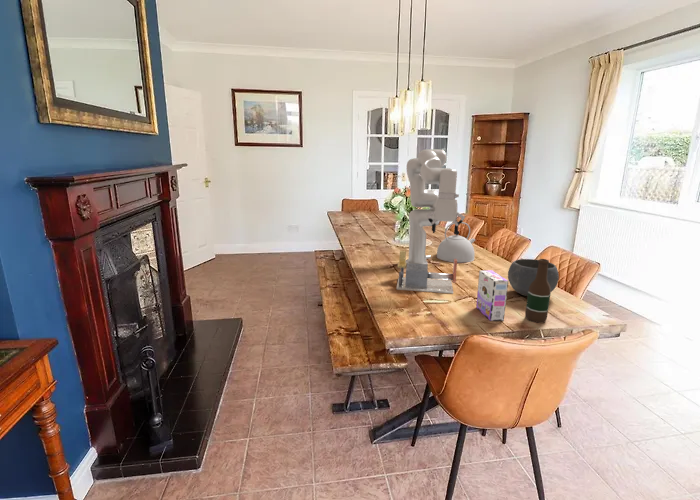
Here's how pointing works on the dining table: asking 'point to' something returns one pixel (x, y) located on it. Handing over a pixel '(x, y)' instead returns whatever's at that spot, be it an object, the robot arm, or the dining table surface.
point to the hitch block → (421, 280)
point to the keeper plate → (402, 260)
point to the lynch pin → (444, 274)
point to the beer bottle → (539, 295)
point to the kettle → (456, 248)
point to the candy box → (492, 295)
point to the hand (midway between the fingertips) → (444, 233)
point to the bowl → (529, 275)
